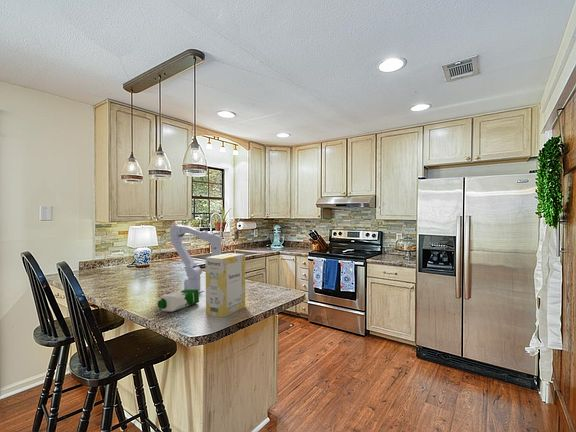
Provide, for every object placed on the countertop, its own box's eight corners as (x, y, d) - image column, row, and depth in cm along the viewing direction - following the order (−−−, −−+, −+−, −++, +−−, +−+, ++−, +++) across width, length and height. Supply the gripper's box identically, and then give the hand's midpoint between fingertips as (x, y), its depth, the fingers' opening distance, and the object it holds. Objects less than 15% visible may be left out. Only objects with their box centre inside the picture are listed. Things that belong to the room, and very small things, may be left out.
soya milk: (188, 287, 166) (156, 295, 149) (199, 287, 162) (168, 295, 145) (189, 303, 166) (157, 313, 148) (200, 303, 161) (169, 314, 144)
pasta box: (222, 317, 141) (222, 258, 141) (206, 314, 146) (205, 257, 145) (245, 306, 157) (245, 254, 157) (229, 304, 162) (229, 252, 162)
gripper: (215, 256, 176) (216, 279, 176) (228, 253, 190) (228, 274, 190) (205, 256, 178) (206, 278, 178) (218, 252, 192) (219, 273, 192)
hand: (217, 276), depth 184 cm, fingers closed
